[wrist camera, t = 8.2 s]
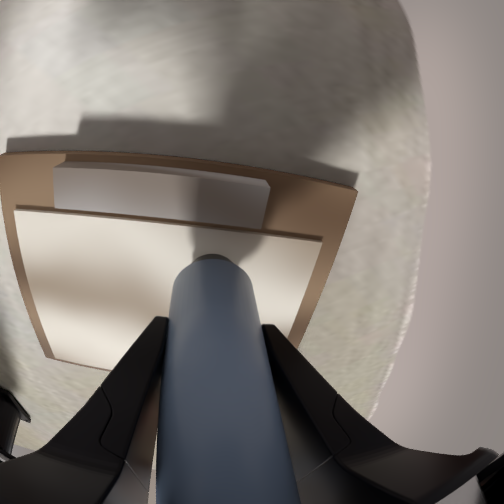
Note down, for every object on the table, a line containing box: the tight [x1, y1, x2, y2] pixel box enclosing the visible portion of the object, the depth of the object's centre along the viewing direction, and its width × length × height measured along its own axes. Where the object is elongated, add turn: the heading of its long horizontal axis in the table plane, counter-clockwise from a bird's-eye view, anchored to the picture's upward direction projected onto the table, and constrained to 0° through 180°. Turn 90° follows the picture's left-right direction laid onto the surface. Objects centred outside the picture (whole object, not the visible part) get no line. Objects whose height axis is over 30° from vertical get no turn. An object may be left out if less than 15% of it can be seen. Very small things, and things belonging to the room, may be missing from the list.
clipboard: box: [0, 151, 358, 371], centre depth 12 cm, size 13×16×2 cm
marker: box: [156, 254, 301, 504], centre depth 7 cm, size 3×3×10 cm
